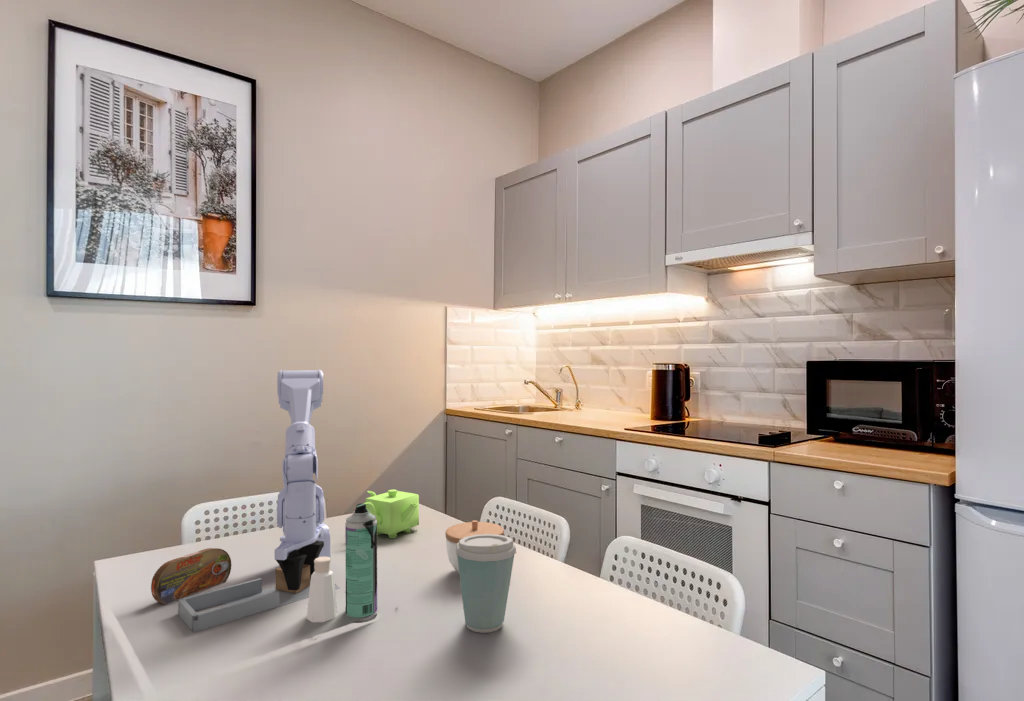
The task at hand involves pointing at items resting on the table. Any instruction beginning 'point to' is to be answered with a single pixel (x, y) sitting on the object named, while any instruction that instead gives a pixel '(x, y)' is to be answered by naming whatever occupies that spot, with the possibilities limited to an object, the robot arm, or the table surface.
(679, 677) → the table surface
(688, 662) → the table surface
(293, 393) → the robot arm
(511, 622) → the table surface
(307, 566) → the walnut block
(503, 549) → the disposable coffee cup
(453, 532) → the lidded bowl
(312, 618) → the salt shaker
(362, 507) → the spray can
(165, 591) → the tin
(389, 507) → the kettle
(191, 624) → the trap channel
